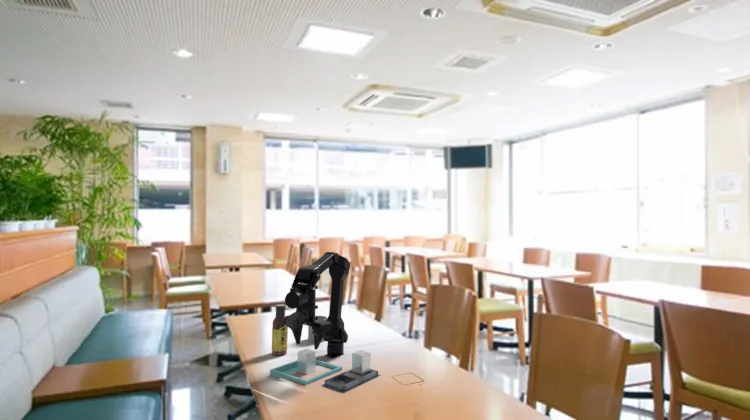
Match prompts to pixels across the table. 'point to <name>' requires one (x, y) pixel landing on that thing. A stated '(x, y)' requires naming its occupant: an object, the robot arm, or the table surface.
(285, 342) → the sauce bottle
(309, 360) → the billet
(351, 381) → the dark grey tray
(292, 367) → the teal tray
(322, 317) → the cup
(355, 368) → the block
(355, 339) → the table surface
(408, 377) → the table surface
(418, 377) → the yellow square frame
